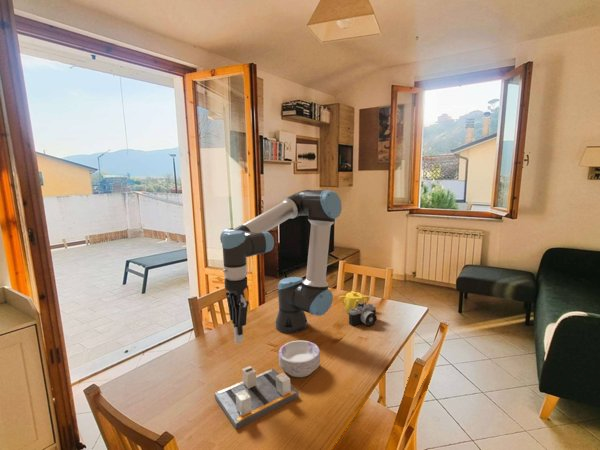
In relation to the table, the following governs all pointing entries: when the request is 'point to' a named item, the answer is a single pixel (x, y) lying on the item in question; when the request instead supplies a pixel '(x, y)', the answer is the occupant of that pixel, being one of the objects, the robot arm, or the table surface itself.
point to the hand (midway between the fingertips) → (238, 342)
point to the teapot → (353, 300)
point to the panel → (256, 397)
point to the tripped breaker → (249, 377)
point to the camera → (363, 315)
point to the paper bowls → (299, 358)
